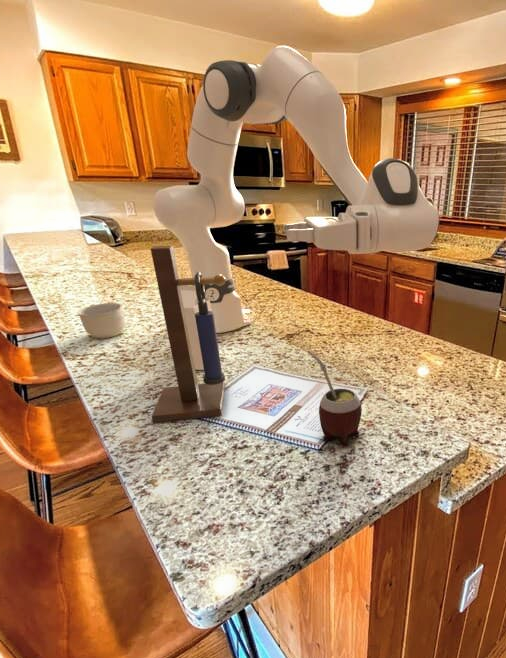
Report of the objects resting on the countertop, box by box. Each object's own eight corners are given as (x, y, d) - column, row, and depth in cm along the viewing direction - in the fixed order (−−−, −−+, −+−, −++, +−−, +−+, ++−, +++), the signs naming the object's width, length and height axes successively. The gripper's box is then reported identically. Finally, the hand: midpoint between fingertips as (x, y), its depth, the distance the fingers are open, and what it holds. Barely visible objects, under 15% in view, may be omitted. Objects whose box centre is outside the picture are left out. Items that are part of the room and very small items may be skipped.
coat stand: (165, 394, 88) (132, 243, 75) (242, 386, 91) (222, 240, 79) (153, 423, 77) (112, 254, 65) (240, 413, 80) (218, 249, 68)
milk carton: (204, 371, 98) (190, 289, 91) (176, 368, 100) (160, 288, 92) (219, 359, 105) (207, 282, 97) (193, 357, 106) (179, 281, 98)
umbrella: (205, 374, 85) (187, 270, 77) (226, 373, 86) (211, 269, 77) (202, 388, 80) (182, 277, 71) (224, 386, 80) (207, 276, 72)
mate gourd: (366, 444, 71) (367, 361, 64) (320, 452, 69) (316, 367, 62) (354, 422, 77) (353, 344, 71) (311, 428, 75) (306, 349, 69)
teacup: (130, 336, 121) (124, 308, 118) (87, 344, 115) (78, 315, 112) (123, 324, 131) (117, 298, 128) (83, 330, 126) (75, 304, 122)
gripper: (346, 208, 90) (280, 210, 87) (370, 216, 72) (287, 218, 69) (346, 240, 92) (282, 242, 90) (370, 255, 74) (290, 258, 72)
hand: (284, 232), depth 79 cm, fingers open, 8 cm apart
